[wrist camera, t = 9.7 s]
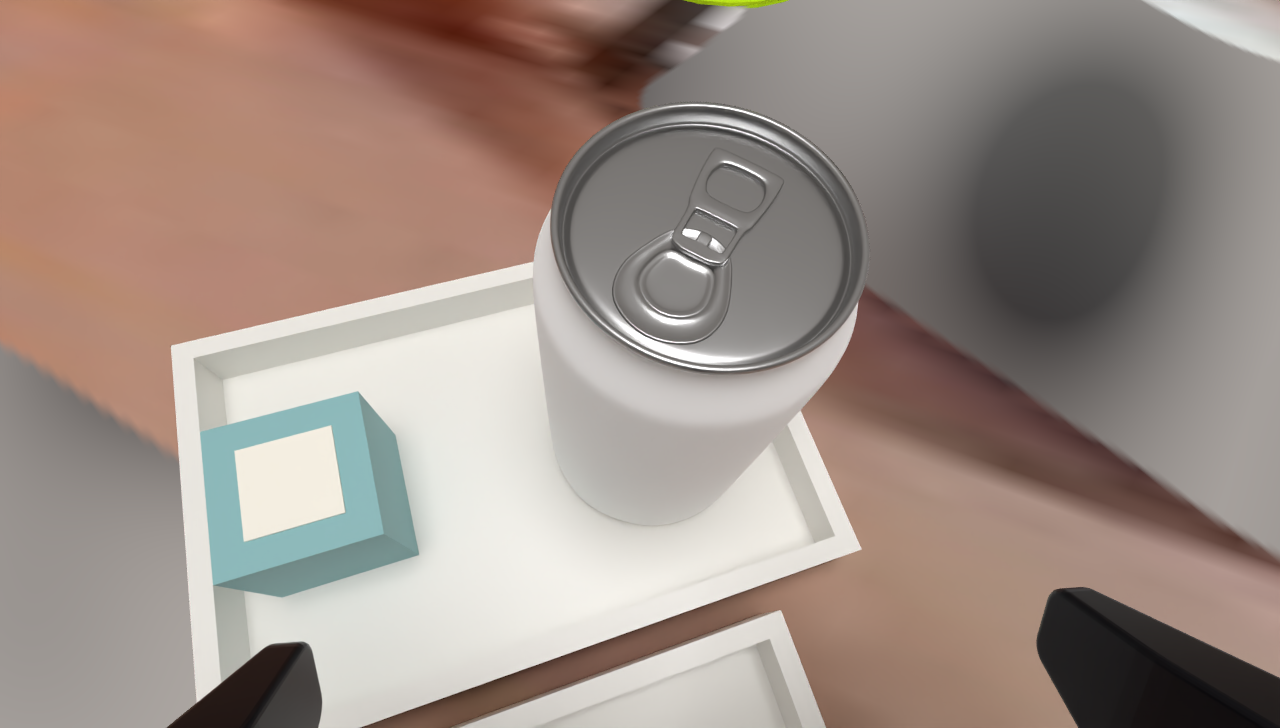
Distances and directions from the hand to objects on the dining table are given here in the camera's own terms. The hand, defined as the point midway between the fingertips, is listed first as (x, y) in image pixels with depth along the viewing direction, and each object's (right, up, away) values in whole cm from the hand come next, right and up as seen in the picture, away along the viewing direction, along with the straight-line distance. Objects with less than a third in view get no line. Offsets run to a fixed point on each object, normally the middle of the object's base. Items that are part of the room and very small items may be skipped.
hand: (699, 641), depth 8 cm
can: (0, +1, +15) cm, 15 cm away
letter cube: (-10, -1, +13) cm, 16 cm away
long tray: (-5, 0, +14) cm, 15 cm away
